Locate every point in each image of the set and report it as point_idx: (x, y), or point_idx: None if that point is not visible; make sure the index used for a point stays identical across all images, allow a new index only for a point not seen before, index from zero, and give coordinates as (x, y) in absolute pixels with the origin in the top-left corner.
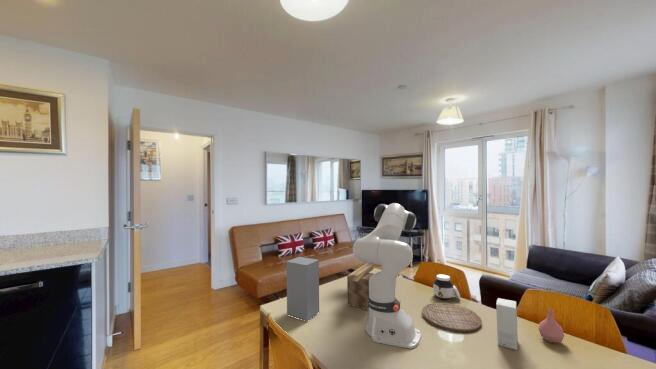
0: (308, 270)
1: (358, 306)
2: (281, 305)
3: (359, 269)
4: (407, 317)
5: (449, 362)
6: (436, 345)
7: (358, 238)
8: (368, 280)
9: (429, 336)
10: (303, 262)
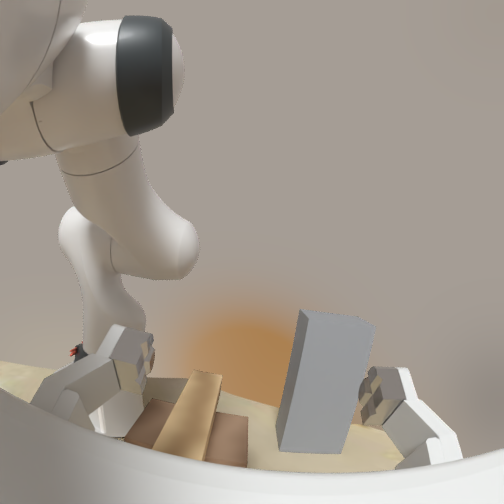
0: (298, 324)
1: None
2: (380, 446)
3: (204, 403)
4: (62, 367)
5: (27, 366)
6: (24, 384)
7: (496, 450)
8: (153, 400)
9: (22, 397)
10: (322, 314)
